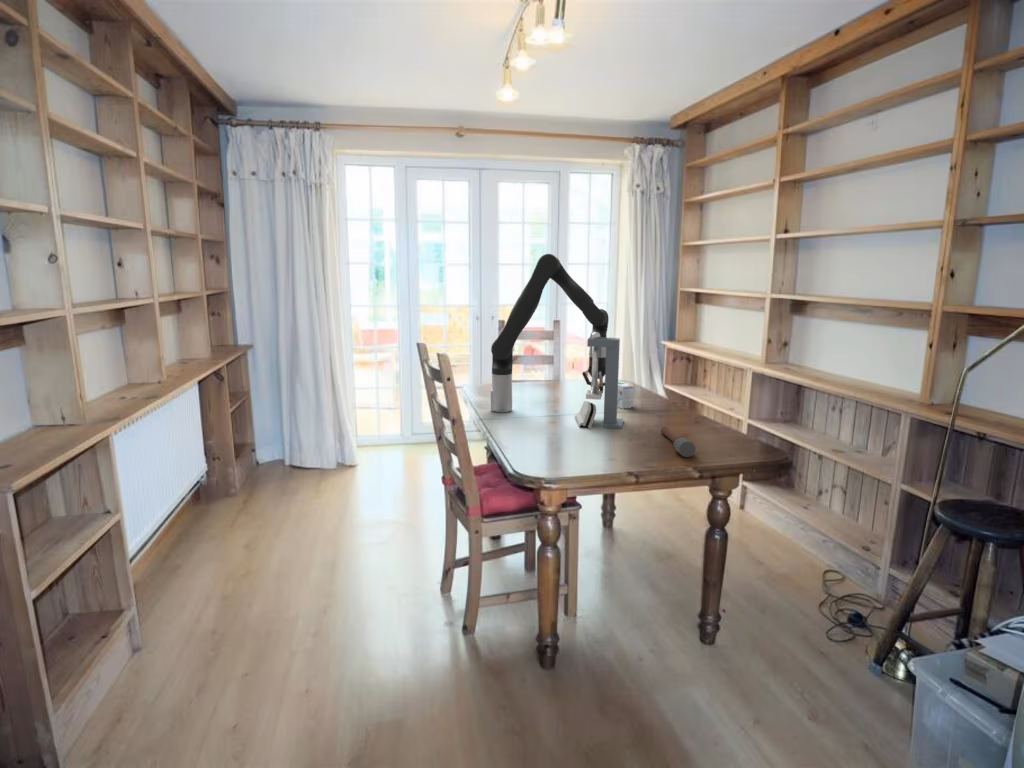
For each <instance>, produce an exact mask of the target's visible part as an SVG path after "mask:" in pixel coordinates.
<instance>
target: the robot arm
mask: <svg viewBox="0 0 1024 768" xmlns="http://www.w3.org/2000/svg"><path fill="white" fill-rule="evenodd" d="M550 280H552V281H553V282H554V283H556V284H557V285H558V286H559V287H560V288H561V289H562V291H563V292H564V293H565V294H566V296H567V297H568V298H569V300H570V301H571V302H572V303H573V304H574V305H575V306H576V307H577V308H578V310H580V311H581V313H582V314H583V316H584V317H585V319H587V321H588V322H589V323H590V325H592V328H591V329H592V330H591V332H590V336H589V337H592V334H593V333H594V332H598V333H599V334H600V337H602V338H608V337H607V333H608V328H609V319H610V318H609V314H608V312H607V311H606V310H605V309H603V308H599V307H598V306H597V305H596V303H595V302H594V299H593V297H591V296H590V294H589V293H588V292H587V291H585V289H584V288H583V287H582V286H581V285H580V284H578V283H577V281H576V280H575V279H573V278H572V277H571V276H570V274H569V273H568V272H567V271H566V269H565V268H564V266H563V265H562V263H561V261H560V259H559V258H558V257H557V256H556V255H554V254H552V253H545V254H543V255H542V256H540V258H539V259H538V260H537V262H536V265H535V267H534V270H533V272H532V274H531V277H530V278H529V280H528V281H527V284H526V285H525V286H524V288H523V290H522V291H521V293H520V295H519V297H518V298H517V300H516V302H515V303H514V305H513V307H512V308H511V311H510V312H509V316H508V318H507V320H506V323H505V325H504V327H503V329H502V331H501V332H500V333H499V335H498V336H497V338H495V340H494V341H493V342H492V344H491V349H490V351H491V352H490V353H491V355H492V357H491V359H492V360H491V361H492V362H491V363H492V365H491V390H490V412H494V411H495V412H496V413H509V411H510V412H512V411H513V362H514V361H513V359H514V358H513V351H514V350H513V348H514V346H515V344H516V341H517V339H518V338H519V336H520V334H521V333H522V331H524V329H525V327H527V325H528V323H529V322H530V320H531V319H532V317H533V315H534V313H536V310H537V308H538V306H539V303H540V301H541V298H542V295H543V291H544V289H545V286H546V285H547V283H548V282H549V281H550ZM592 353H593V347H589V351H588V357H589V358H588V368H587V370H586V371H582V373H581V374H582V377H583V379H584V380H585V383H586V385H589V386H590V388H591V387H592V380H591V381H590V379H589V376H588V375H590V377H591V378H592ZM605 367H606V347H599V349H598V381H600V389H599V391H602V395H603V393H604V387H605V381H604V377H605Z"/></svg>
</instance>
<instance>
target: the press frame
mask: <svg viewBox="0 0 1024 768" xmlns="http://www.w3.org/2000/svg"><path fill="white" fill-rule="evenodd" d="M620 340H621V339H620V337H607V338H602V337H600V339H592V337H590V336H589V337H588V338H587V347H589V348H590V347H606V367H605V375H604V377H605V378H604V382H605V386H604V399H603V400H604V403H603V420H602V423H601V428H602V429H614V428H615V429H617V430H622V428H623V425H624V419H623V418H617V417H618V407H617V399H618V382H619V374H620V373H619V368H620V366H619V364H620V347H621V346H620V344H621V342H620ZM615 429H614V430H615Z"/></svg>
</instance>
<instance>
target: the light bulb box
mask: <svg viewBox="0 0 1024 768" xmlns="http://www.w3.org/2000/svg"><path fill="white" fill-rule="evenodd" d="M635 386H636V385H634V384H631V383H628V382H624V381H618V399H617V408H619V409H621V408H622V410H624V408H626V409H632V408H631V407H633V408H634V407H635V406H634V405H635Z"/></svg>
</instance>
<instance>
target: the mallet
mask: <svg viewBox="0 0 1024 768" xmlns="http://www.w3.org/2000/svg"><path fill="white" fill-rule="evenodd" d="M660 433H661V434H662V435H663V434H664V435H663V436H665V437H667V439H669V440H670V441H671V442H673V443H672V448H673V449H674V451H675V452H676V453H678V454H679V455H681V456H682V457H684V458H691V457H692V456H693V455H695V452H696V445H694V442H692V441H690V440H689V438H688V437H686V436H683V435H680V436H677V435H675V434H674V433H673V432H672V431H671V430H670V428H668V427H667V426H664V427H662V428H661V429H660Z"/></svg>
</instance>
